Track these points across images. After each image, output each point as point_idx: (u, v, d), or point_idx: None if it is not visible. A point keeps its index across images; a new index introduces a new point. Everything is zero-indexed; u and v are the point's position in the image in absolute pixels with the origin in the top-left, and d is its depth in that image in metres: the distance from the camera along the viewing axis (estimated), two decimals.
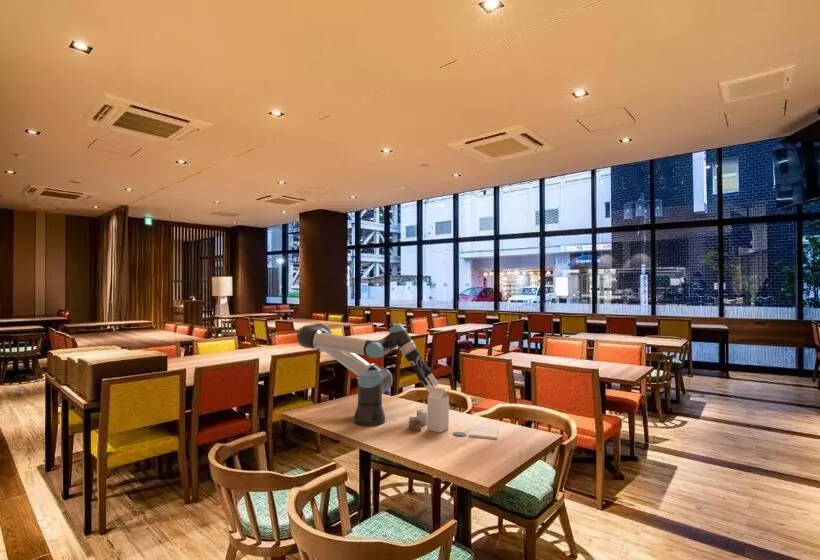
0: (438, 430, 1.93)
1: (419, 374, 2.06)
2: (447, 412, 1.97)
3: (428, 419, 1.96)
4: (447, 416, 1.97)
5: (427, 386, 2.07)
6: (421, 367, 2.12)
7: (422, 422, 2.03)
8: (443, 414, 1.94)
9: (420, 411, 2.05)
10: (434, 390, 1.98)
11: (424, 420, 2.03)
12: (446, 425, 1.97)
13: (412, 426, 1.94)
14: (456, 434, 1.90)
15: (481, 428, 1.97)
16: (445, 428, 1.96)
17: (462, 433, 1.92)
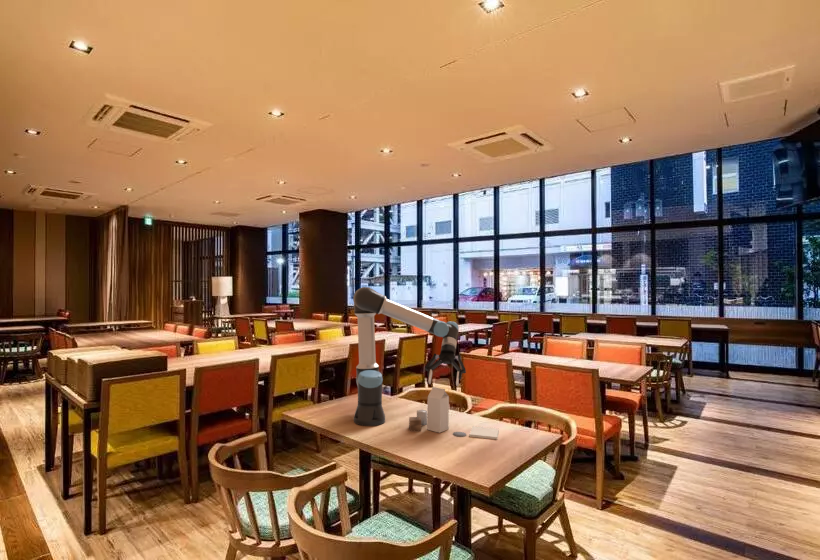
0: (438, 430, 1.93)
1: (464, 368, 2.12)
2: (447, 412, 1.97)
3: (428, 419, 1.96)
4: (447, 416, 1.97)
5: (458, 379, 2.07)
6: (453, 365, 2.16)
7: (422, 422, 2.03)
8: (443, 414, 1.94)
9: (420, 411, 2.05)
10: (434, 390, 1.98)
11: (424, 420, 2.03)
12: (446, 425, 1.97)
13: (412, 426, 1.94)
14: (456, 434, 1.90)
15: (481, 428, 1.97)
16: (445, 428, 1.96)
17: (462, 433, 1.92)
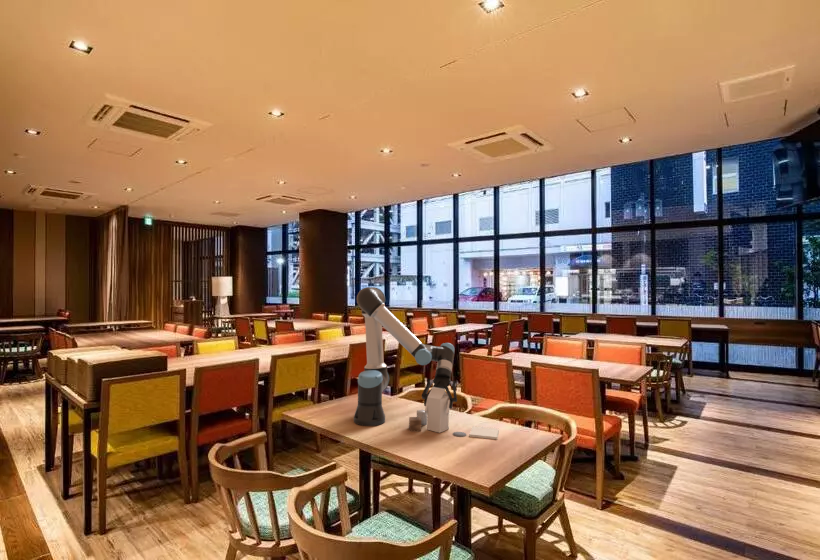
0: (438, 430, 1.93)
1: (456, 396, 1.99)
2: None
3: (428, 419, 1.96)
4: (447, 416, 1.97)
5: (449, 408, 1.95)
6: None
7: (422, 422, 2.03)
8: (443, 414, 1.94)
9: (420, 411, 2.05)
10: (434, 390, 1.98)
11: (424, 420, 2.03)
12: (446, 425, 1.97)
13: (412, 426, 1.94)
14: (456, 434, 1.90)
15: (481, 428, 1.97)
16: (445, 428, 1.96)
17: (462, 433, 1.92)
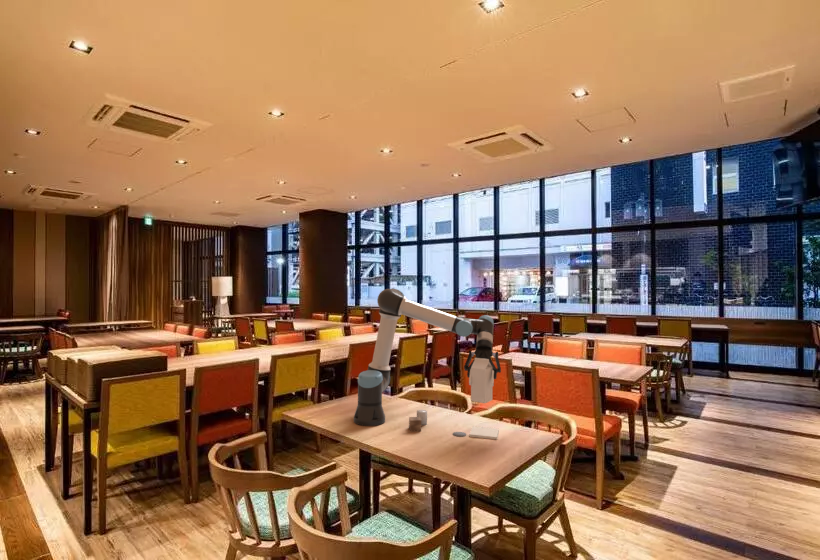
0: (483, 401, 1.89)
1: (500, 367, 1.95)
2: (491, 383, 1.93)
3: (472, 390, 1.92)
4: (491, 387, 1.93)
5: (493, 379, 1.91)
6: None
7: (422, 422, 2.03)
8: (487, 384, 1.90)
9: (420, 411, 2.05)
10: (477, 361, 1.94)
11: (424, 420, 2.03)
12: (490, 396, 1.93)
13: (412, 426, 1.94)
14: (456, 434, 1.90)
15: (481, 428, 1.97)
16: (489, 399, 1.92)
17: (462, 433, 1.92)
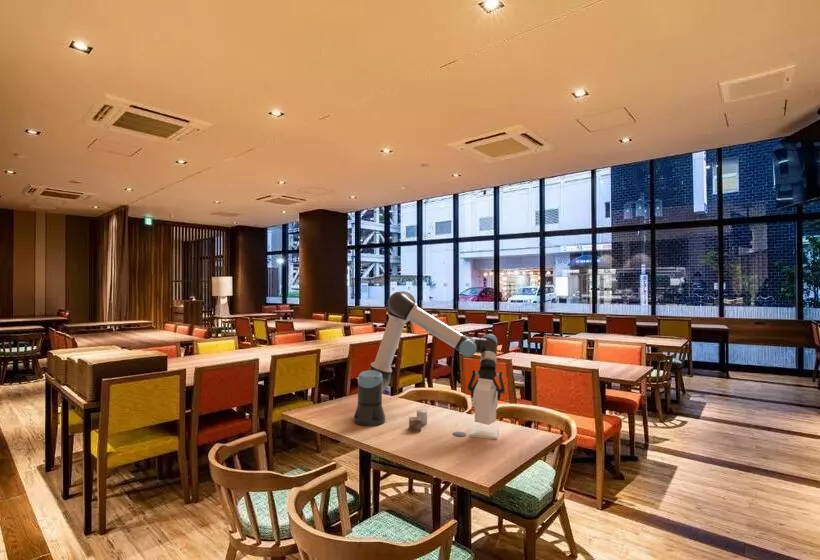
0: (487, 422, 1.88)
1: (503, 387, 1.95)
2: None
3: (476, 411, 1.92)
4: (495, 407, 1.93)
5: (497, 400, 1.90)
6: None
7: (422, 422, 2.03)
8: (491, 405, 1.90)
9: (420, 411, 2.05)
10: (481, 381, 1.94)
11: (424, 420, 2.03)
12: (494, 417, 1.92)
13: (412, 426, 1.94)
14: (456, 434, 1.90)
15: (481, 428, 1.97)
16: (493, 420, 1.91)
17: (462, 433, 1.92)
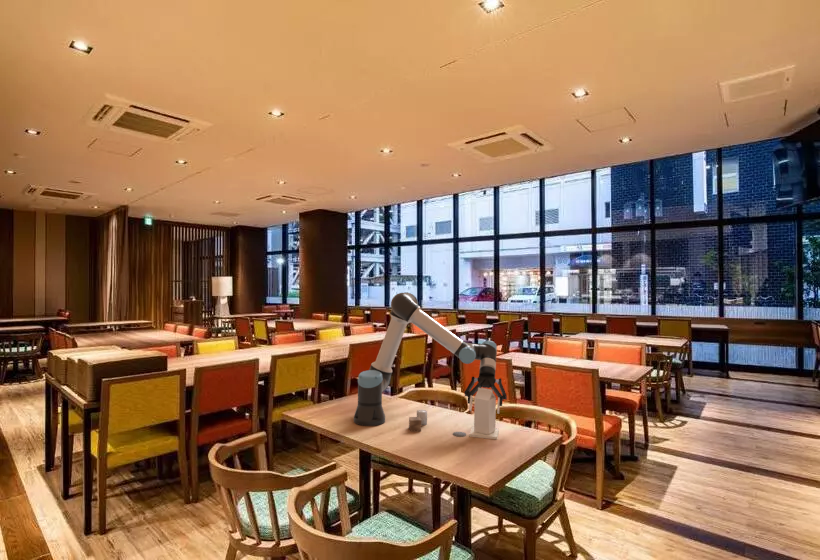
0: (486, 432, 1.88)
1: None
2: (494, 413, 1.93)
3: (475, 421, 1.92)
4: (494, 417, 1.93)
5: (499, 406, 1.90)
6: (493, 389, 1.99)
7: (422, 422, 2.03)
8: (491, 415, 1.90)
9: (420, 411, 2.05)
10: (481, 391, 1.94)
11: (424, 420, 2.03)
12: (494, 427, 1.92)
13: (412, 426, 1.94)
14: (456, 434, 1.90)
15: None
16: (493, 430, 1.91)
17: (462, 433, 1.92)
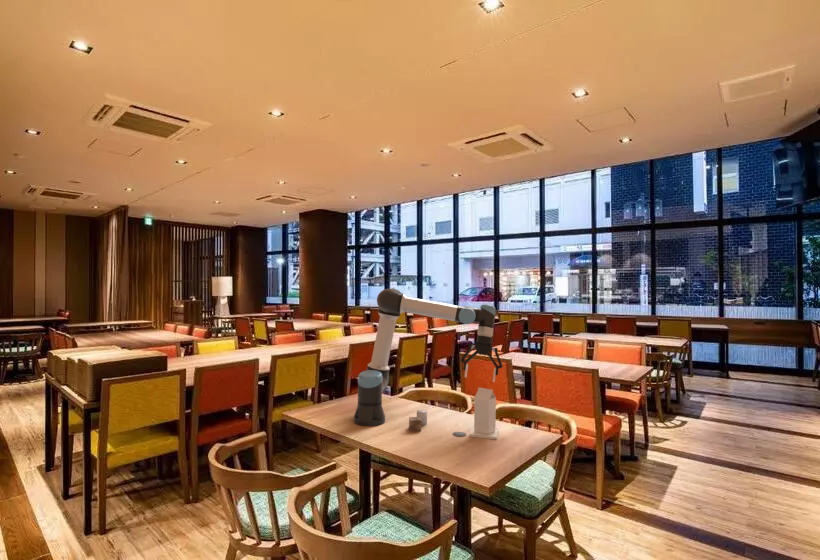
0: (486, 432, 1.88)
1: None
2: (494, 413, 1.93)
3: (475, 421, 1.92)
4: (494, 417, 1.93)
5: None
6: None
7: (422, 422, 2.03)
8: (491, 415, 1.90)
9: (420, 411, 2.05)
10: (481, 391, 1.94)
11: (424, 420, 2.03)
12: (494, 427, 1.92)
13: (412, 426, 1.94)
14: (456, 434, 1.90)
15: None
16: (493, 430, 1.91)
17: (462, 433, 1.92)
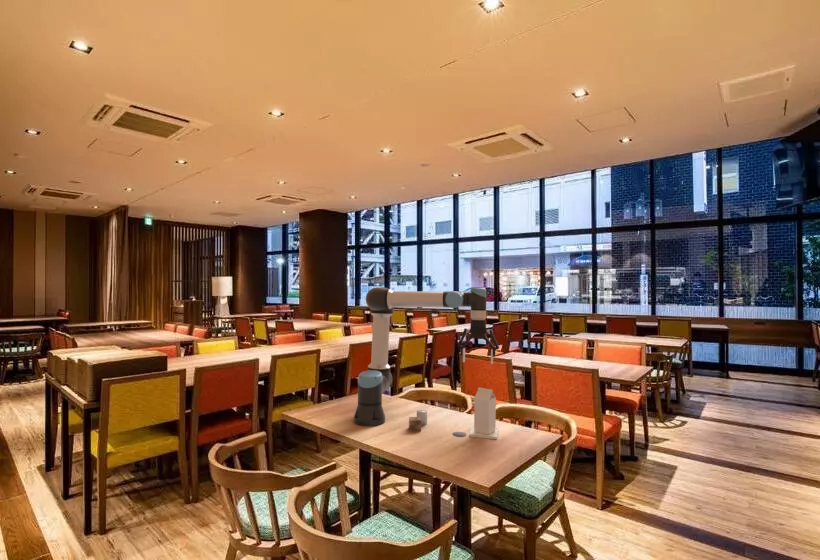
0: (486, 432, 1.88)
1: (497, 344, 2.08)
2: (494, 413, 1.93)
3: (475, 421, 1.92)
4: (494, 417, 1.93)
5: (492, 358, 2.08)
6: None
7: (422, 422, 2.03)
8: (491, 415, 1.90)
9: (420, 411, 2.05)
10: (481, 391, 1.94)
11: (424, 420, 2.03)
12: (494, 427, 1.92)
13: (412, 426, 1.94)
14: (456, 434, 1.90)
15: None
16: (493, 430, 1.91)
17: (462, 433, 1.92)
